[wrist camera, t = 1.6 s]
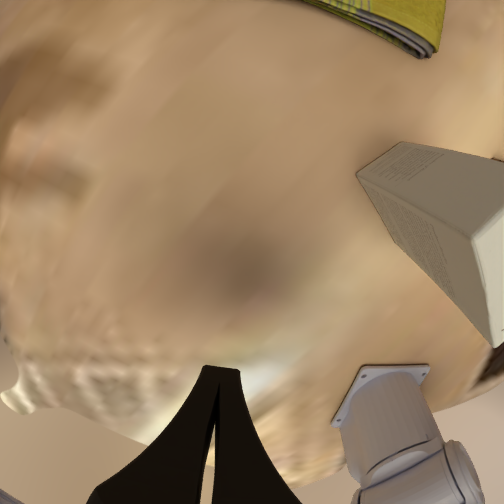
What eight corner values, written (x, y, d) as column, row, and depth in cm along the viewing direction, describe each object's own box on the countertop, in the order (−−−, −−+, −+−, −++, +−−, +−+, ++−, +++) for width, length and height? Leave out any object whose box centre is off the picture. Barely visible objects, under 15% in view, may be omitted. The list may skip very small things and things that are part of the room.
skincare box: (437, 210, 19) (555, 293, 8) (393, 243, 20) (492, 354, 9) (401, 137, 17) (544, 170, 6) (352, 171, 18) (468, 243, 7)
